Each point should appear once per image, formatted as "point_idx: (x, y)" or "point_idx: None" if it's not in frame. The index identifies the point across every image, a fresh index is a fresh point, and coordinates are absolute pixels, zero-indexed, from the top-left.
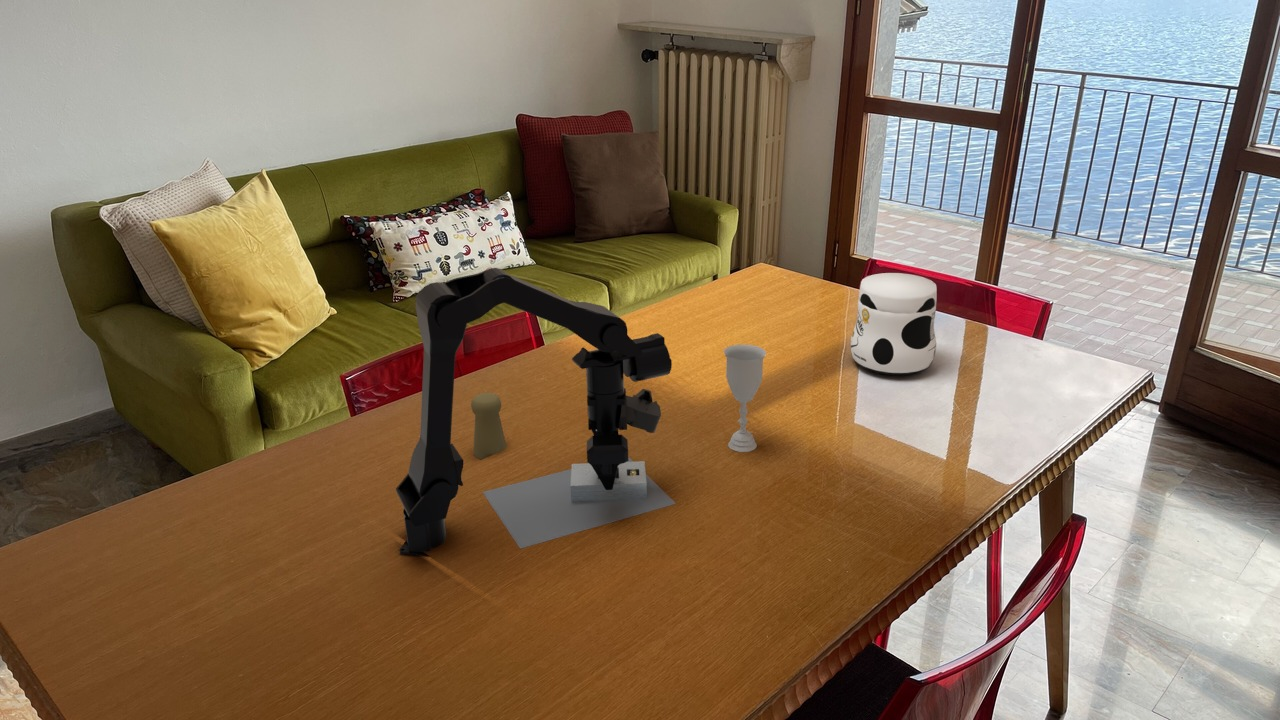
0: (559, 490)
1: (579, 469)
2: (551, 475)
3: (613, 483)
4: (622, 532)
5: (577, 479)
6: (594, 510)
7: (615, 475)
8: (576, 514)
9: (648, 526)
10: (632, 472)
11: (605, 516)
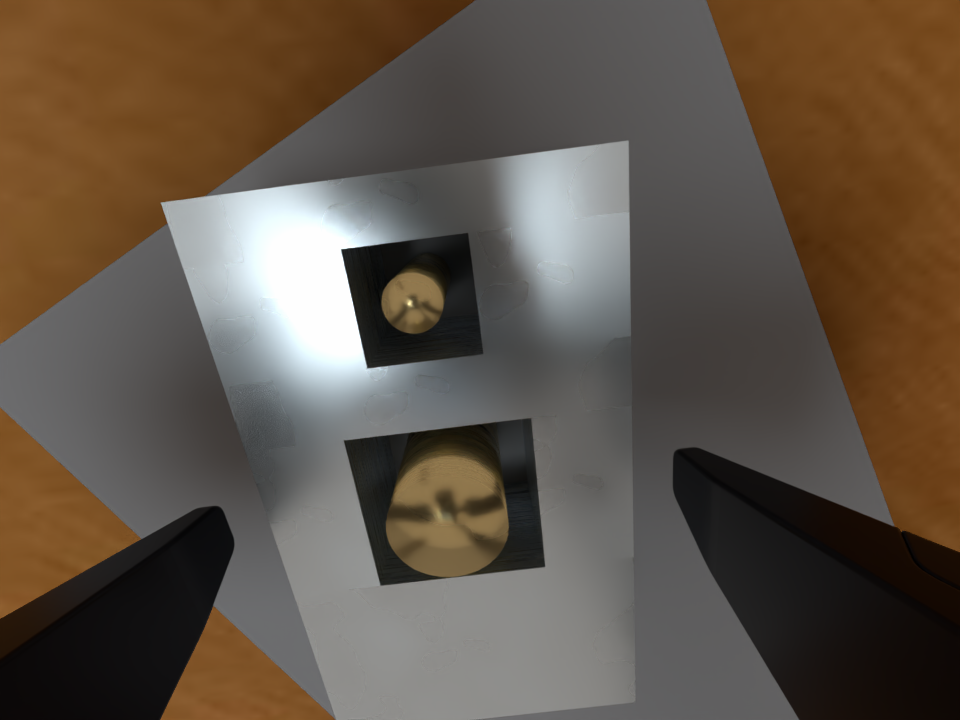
0: None
1: (410, 685)
2: None
3: (759, 473)
4: (869, 295)
5: (553, 679)
6: None
7: (885, 523)
8: None
9: (838, 129)
10: (419, 309)
11: (771, 416)
